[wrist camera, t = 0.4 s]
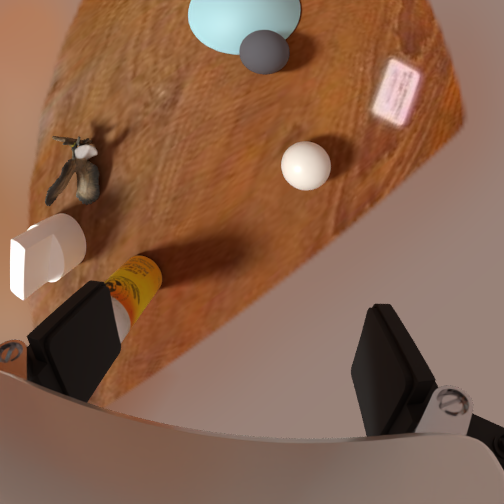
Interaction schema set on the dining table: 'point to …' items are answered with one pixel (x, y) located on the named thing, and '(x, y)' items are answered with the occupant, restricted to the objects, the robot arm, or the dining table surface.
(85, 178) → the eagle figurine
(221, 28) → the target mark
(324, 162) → the cue ball
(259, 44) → the object ball
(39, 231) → the base with upright slab
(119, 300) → the beer can
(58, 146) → the dining table surface
